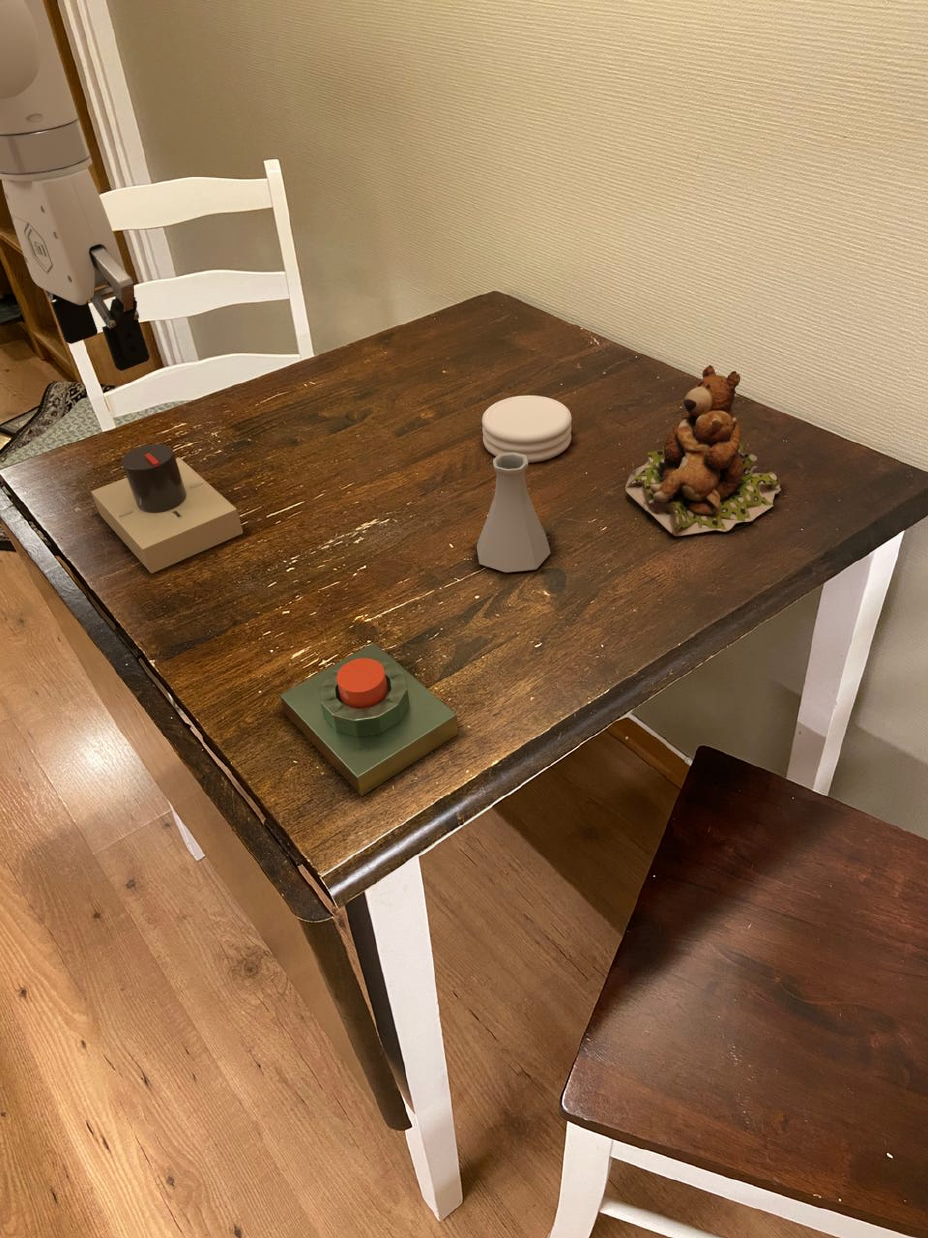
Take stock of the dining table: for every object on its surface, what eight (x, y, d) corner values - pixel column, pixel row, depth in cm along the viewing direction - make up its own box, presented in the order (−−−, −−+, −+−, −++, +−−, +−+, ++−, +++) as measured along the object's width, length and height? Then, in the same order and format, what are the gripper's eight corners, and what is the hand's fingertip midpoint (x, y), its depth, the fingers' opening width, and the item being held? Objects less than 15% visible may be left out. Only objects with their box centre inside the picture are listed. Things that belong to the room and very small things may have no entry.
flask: (468, 571, 83) (461, 479, 76) (484, 527, 88) (479, 438, 81) (544, 578, 81) (543, 485, 75) (556, 533, 86) (557, 442, 80)
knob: (129, 498, 90) (112, 453, 87) (174, 480, 93) (160, 435, 89) (148, 518, 87) (131, 472, 84) (194, 499, 90) (180, 453, 86)
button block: (284, 714, 70) (274, 678, 67) (377, 661, 74) (371, 625, 71) (361, 797, 63) (353, 760, 61) (459, 734, 67) (455, 697, 65)
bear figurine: (597, 491, 92) (602, 382, 84) (704, 446, 97) (718, 339, 89) (690, 553, 83) (705, 437, 75) (802, 499, 88) (827, 386, 80)
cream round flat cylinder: (465, 441, 101) (463, 413, 99) (531, 412, 106) (531, 385, 103) (521, 474, 95) (520, 446, 93) (589, 443, 99) (590, 414, 97)
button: (330, 690, 67) (327, 673, 65) (370, 667, 68) (367, 651, 67) (357, 716, 64) (353, 699, 63) (397, 692, 66) (394, 675, 65)
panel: (99, 514, 94) (90, 489, 92) (186, 480, 99) (178, 455, 96) (151, 574, 85) (141, 547, 83) (243, 533, 90) (236, 507, 88)
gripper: (-49, 147, 74) (28, 342, 85) (42, 175, 65) (116, 391, 76) (35, 128, 78) (99, 317, 89) (133, 152, 69) (191, 361, 80)
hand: (107, 351), depth 83 cm, fingers open, 9 cm apart
